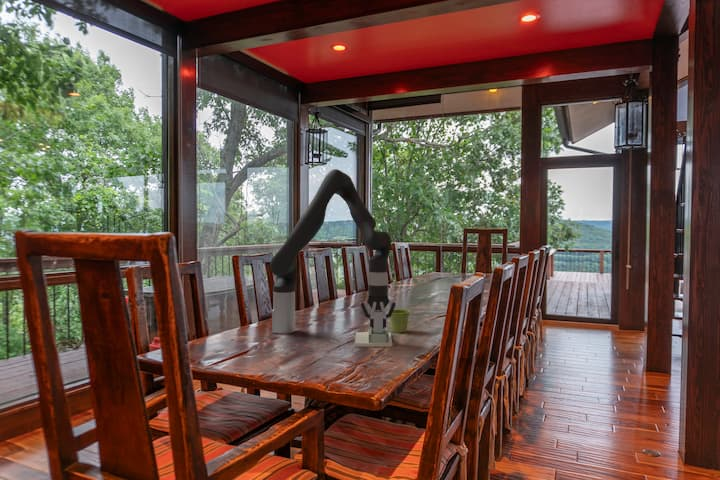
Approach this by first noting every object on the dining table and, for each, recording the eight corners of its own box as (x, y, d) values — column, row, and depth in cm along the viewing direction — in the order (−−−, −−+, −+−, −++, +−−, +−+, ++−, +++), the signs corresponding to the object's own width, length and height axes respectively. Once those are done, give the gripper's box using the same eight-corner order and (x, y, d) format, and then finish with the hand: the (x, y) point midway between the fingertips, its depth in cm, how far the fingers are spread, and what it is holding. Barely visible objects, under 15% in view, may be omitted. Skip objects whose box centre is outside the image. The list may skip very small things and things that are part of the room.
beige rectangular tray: (354, 346, 171) (354, 335, 170) (356, 335, 189) (356, 325, 188) (392, 346, 170) (392, 335, 170) (390, 335, 188) (390, 325, 188)
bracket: (373, 338, 173) (373, 311, 173) (373, 334, 179) (373, 309, 179) (382, 338, 173) (382, 312, 173) (382, 334, 179) (382, 309, 179)
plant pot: (385, 333, 192) (385, 312, 192) (392, 328, 201) (392, 308, 201) (406, 334, 189) (406, 313, 189) (412, 330, 198) (412, 310, 197)
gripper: (359, 284, 172) (359, 330, 173) (397, 284, 172) (397, 330, 172) (359, 282, 180) (360, 326, 180) (396, 282, 179) (396, 326, 180)
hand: (378, 328), depth 176 cm, fingers closed on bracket, 3 cm apart
